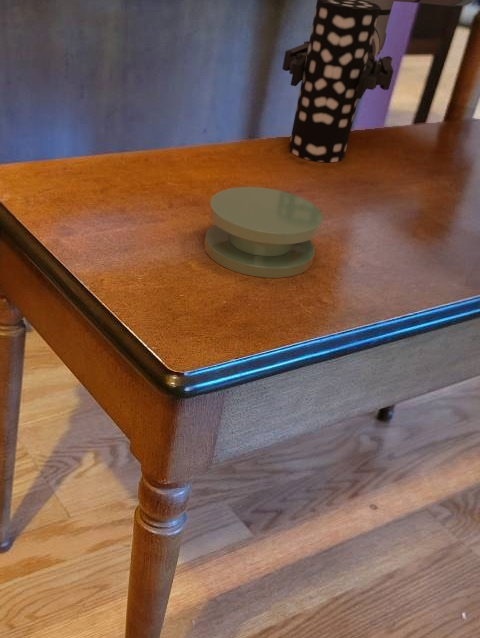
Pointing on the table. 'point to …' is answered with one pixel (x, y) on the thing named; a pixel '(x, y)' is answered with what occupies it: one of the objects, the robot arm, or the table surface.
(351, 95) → the spotted tube
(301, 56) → the robot arm
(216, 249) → the stand
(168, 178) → the table surface
